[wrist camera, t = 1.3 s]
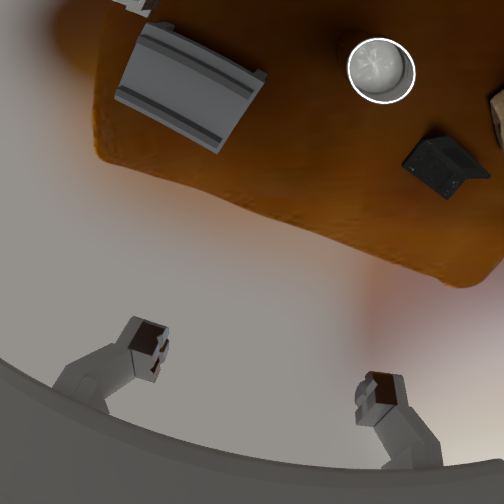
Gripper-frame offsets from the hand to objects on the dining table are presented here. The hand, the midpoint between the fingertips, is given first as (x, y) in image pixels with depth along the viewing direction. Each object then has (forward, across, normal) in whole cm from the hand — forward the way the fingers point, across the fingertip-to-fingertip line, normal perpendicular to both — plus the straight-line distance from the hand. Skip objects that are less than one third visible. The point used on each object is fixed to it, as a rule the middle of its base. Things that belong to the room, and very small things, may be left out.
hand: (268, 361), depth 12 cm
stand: (+37, +16, -7) cm, 41 cm away
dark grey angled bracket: (+39, -23, -4) cm, 46 cm away
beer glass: (+36, -5, -16) cm, 40 cm away
